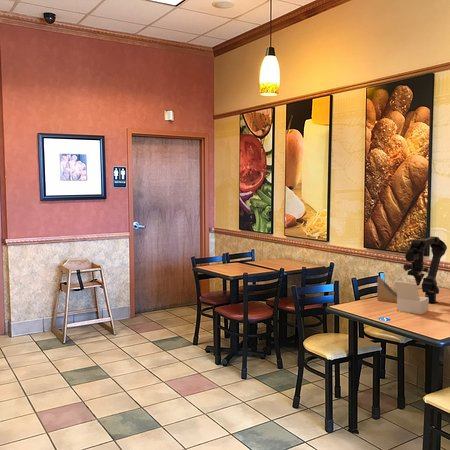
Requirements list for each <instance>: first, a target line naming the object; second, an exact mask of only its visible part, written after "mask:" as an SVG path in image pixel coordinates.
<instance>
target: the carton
mask: <svg viewBox="0 0 450 450" xmlns="http://www.w3.org/2000/svg"><path fill="white" fill-rule="evenodd" d="M419 299H420V301H415V300H408V299H401V298H397V302H396V312H399V311H400V312H401V313H405V312H406V314H413V315H418V316H422V315H423V314H426V313H427V312H429V305H430V303H429V298H428V297H425V296H420V295H419Z"/></svg>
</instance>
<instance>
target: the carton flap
mask: <svg viewBox="0 0 450 450" xmlns="http://www.w3.org/2000/svg"><path fill="white" fill-rule="evenodd" d="M393 282H394V287H395V291H396V292H395V293H396V294H397V297H398V298H401V299H408V300H415V301H420V299H419V296H420V295H419V290H418V285H417V283H416V282H408V281H400V280H394V281H393Z"/></svg>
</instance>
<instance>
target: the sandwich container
mask: <svg viewBox="0 0 450 450" xmlns="http://www.w3.org/2000/svg"><path fill="white" fill-rule="evenodd" d="M376 292H377V295H376V296H377V298H376V299H377V301H379V302H390V303H397V298H398V297H397V292H395V290H393V288H392V287H390V285H388V284H387V282H385V280H383V278H382V277H381V276H378V277H377V291H376Z"/></svg>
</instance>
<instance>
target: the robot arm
mask: <svg viewBox="0 0 450 450" xmlns="http://www.w3.org/2000/svg"><path fill="white" fill-rule="evenodd" d="M427 246H429V247H430V248H431V254H432V257H431V260H430V261H431V262H430V264H429V265H430V266H429V267H425V266H424V264H425V261H424V253H426V251H425V249H426V248H427ZM447 249H448V247H447V244H446V243H445V242H444V241H443V240H441V239H440V237H438V236H432V235H431V236H430V237H426V238H423V239H416V238H415V239H412V242H411V243H410V246H409V248H408V251H407V252H406V253H405V255H404V258H405V261H406V262H409V264H408V263H406V264H405V263H404V264H403V266H402V268H403V270H404V271H405V272H407V274H406V275H407V276H410V277H411V276H412V277H413V278H414V280H415V283H417V286H420V284H421V291H422V293H425V294H424V297H428V298H429V304H438V302H439V301H437V295H438V294H439V293H440V289H439V287H438V283H437V275H438V270H439V266H440V264H441V263H440V262H441V258H442V257H444V256H445V255H446V252H447ZM410 263H411V264H410ZM424 272H425V273H424ZM426 273H427V276H426V277H424V276H425V275H426Z"/></svg>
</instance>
